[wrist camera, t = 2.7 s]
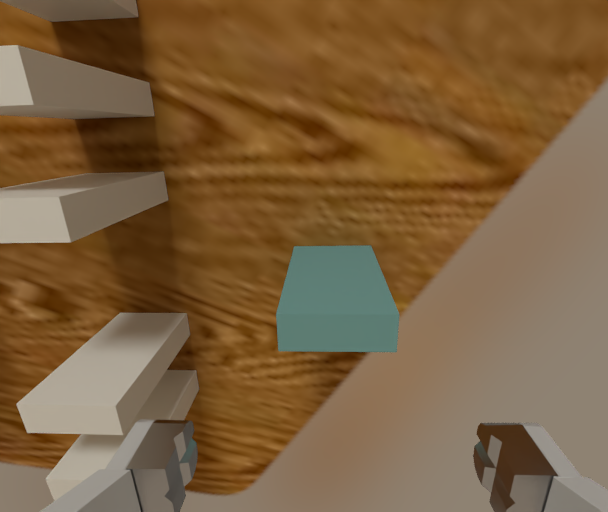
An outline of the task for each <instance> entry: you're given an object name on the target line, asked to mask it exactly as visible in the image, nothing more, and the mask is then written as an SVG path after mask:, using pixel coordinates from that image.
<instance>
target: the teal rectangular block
mask: <svg viewBox="0 0 608 512" xmlns="http://www.w3.org/2000/svg"><path fill="white" fill-rule="evenodd" d="M276 318H277V334H278V350H279V351H322V352H397V339H398V326H399V312H398V310H397V308H396V305H395V303H394V300H393V298H392V295H391V293H390V291H389V288H388V286H387V283H386V281H385V278H384V276H383V274H382V271H381V269H380V266H379V264H378V262H377V259H376V257H375V254H374V252H373V249H372V247H371V246H294V249H293V253H292V257H291V261H290V264H289V268H288V272H287V276H286V279H285V283H284V287H283V291H282V294H281V298H280V302H279V306H278V309H277V313H276Z"/></svg>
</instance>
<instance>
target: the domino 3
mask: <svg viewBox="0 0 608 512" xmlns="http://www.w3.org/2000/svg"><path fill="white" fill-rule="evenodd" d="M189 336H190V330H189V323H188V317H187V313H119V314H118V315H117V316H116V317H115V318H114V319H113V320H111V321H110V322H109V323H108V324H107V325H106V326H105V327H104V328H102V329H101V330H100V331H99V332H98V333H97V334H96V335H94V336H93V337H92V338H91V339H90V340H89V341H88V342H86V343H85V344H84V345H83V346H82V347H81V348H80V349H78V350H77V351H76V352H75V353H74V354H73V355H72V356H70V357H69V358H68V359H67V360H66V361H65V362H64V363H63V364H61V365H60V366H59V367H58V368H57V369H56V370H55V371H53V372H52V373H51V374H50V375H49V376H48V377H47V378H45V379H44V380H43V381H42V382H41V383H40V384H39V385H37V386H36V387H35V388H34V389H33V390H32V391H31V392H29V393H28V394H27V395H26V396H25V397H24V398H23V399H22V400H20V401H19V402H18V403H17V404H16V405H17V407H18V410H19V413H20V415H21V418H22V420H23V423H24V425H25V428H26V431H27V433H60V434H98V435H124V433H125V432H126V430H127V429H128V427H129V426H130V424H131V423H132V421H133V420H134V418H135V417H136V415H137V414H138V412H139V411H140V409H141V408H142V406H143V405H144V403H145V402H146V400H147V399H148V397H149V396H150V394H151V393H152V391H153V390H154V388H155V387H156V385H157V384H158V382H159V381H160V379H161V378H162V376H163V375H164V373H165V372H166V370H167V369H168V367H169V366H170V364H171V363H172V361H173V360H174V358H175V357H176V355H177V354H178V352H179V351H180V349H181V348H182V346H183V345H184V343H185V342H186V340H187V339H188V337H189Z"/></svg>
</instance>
